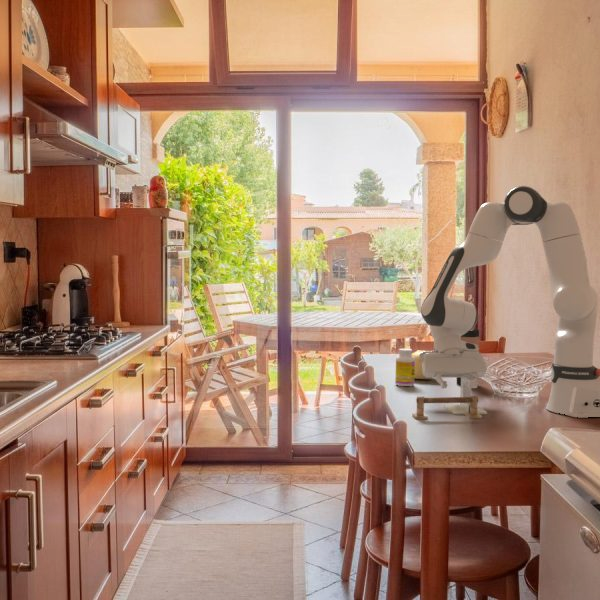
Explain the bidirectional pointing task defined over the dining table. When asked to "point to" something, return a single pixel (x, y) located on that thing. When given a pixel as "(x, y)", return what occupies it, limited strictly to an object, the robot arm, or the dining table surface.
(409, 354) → the supplement bottle
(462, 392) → the c link
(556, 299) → the robot arm
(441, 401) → the rail stand
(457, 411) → the tile
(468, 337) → the travel mug
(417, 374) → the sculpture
